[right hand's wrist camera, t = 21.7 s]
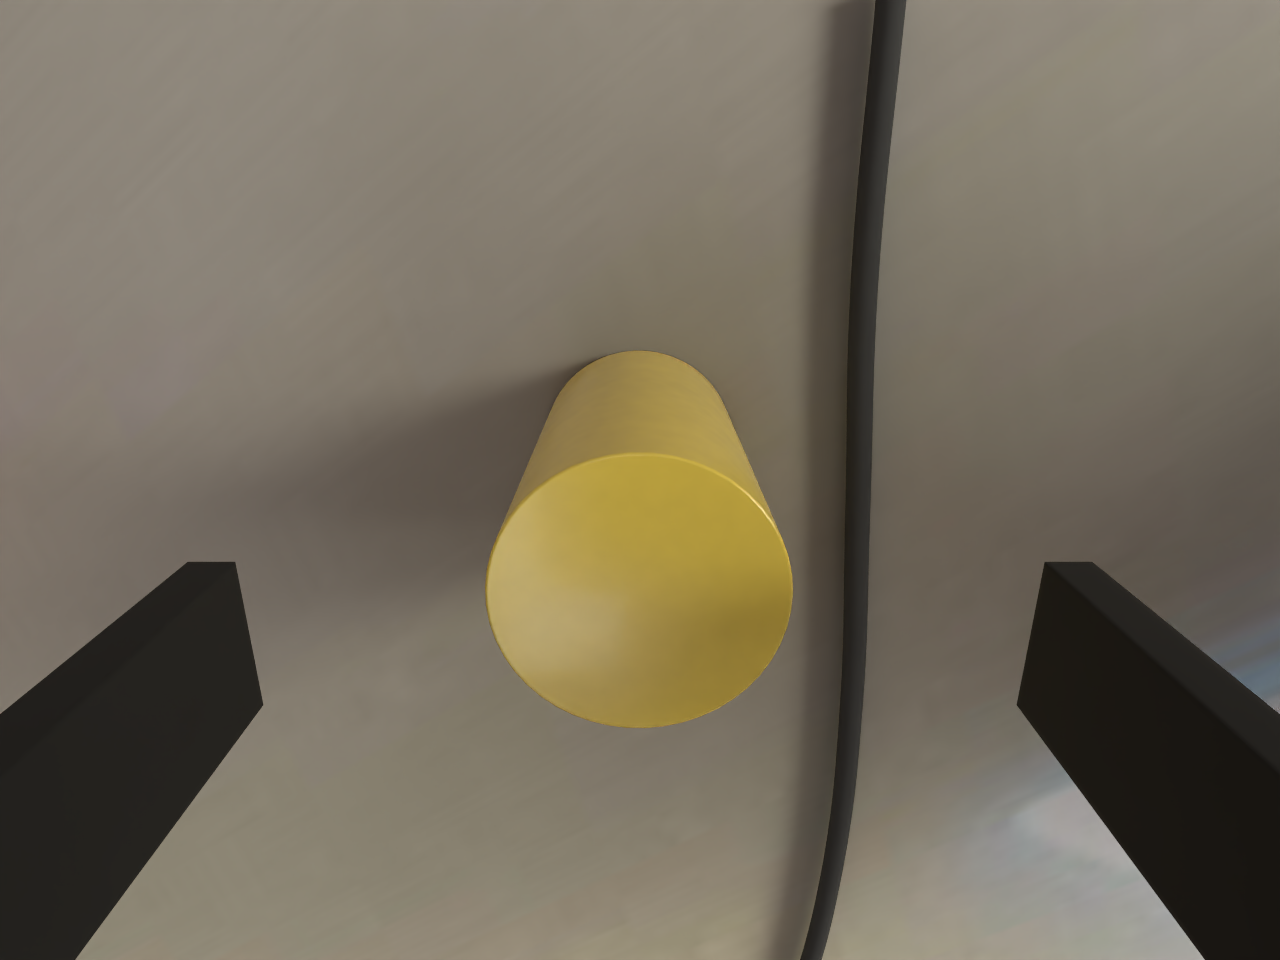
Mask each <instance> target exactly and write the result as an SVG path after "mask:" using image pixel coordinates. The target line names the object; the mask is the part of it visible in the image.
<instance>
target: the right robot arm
mask: <svg viewBox="0 0 1280 960" xmlns="http://www.w3.org/2000/svg"><path fill="white" fill-rule="evenodd" d="M905 7H906V0H876V2H875V13H874V24H873V34H872V45H871V55H870V65H869V75H868V85H867V95H866V105H865V115H864V125H863V135H862V145H861V156H860V166H859V177H858V188H857V200H856V212H855V225H854V239H853V254H852V270H851V288H850V309H849V334H848V368H847V441H846V504H845V552H844V625H843V660H842V681H841V698H840V713H839V728H838V742H837V755H836V767H835V779H834V789H833V798H832V806H831V814H830V822H829V829H828V835H827V842H826V848H825V854H824V859H823V865H822V870H821V876H820V881H819V886H818V891H817V896H816V900H815V905H814V910H813V914H812V918H811V922H810V926H809V930H808V934H807V938H806V941H805V945H804V949H803V952H802V955H801V959H800V960H822V956H823V953H824V949H825V946H826V942H827V938H828V934H829V930H830V926H831V922H832V918H833V914H834V909H835V905H836V900H837V895H838V890H839V886H840V881H841V875H842V870H843V865H844V860H845V854H846V848H847V843H848V837H849V830H850V824H851V817H852V810H853V802H854V794H855V786H856V776H857V766H858V755H859V744H860V732H861V719H862V707H863V694H864V679H865V662H866V640H867V608H868V565H869V529H870V500H871V467H872V423H873V381H874V352H875V329H876V310H877V293H878V277H879V263H880V249H881V237H882V225H883V214H884V203H885V192H886V182H887V172H888V163H889V153H890V144H891V135H892V126H893V117H894V108H895V99H896V90H897V81H898V72H899V63H900V54H901V45H902V36H903V26H904V17H905ZM262 706H263V701H262V696H261V691H260V686H259V681H258V676H257V671H256V666H255V660H254V655H253V650H252V645H251V640H250V635H249V630H248V625H247V620H246V615H245V610H244V604H243V599H242V594H241V589H240V584H239V579H238V574H237V569H236V564H235V562H187V563H186V564H185V565H184V566H182V567H181V568H180V569H179V570H177V571H176V572H175V573H174V574H172V575H171V576H170V577H169V578H168V579H166V580H165V581H164V582H163V583H161V584H160V585H159V586H158V587H156V588H155V589H154V590H153V591H152V592H150V593H149V594H148V595H147V596H145V597H144V598H143V599H142V600H140V601H139V602H138V603H137V604H136V605H134V606H133V607H132V608H131V609H129V610H128V611H127V612H126V613H124V614H123V615H122V616H121V617H119V618H118V619H117V620H116V621H115V622H113V623H112V624H111V625H110V626H108V627H107V628H106V629H105V630H103V631H102V632H101V633H100V634H99V635H97V636H96V637H95V638H94V639H92V640H91V641H90V642H89V643H87V644H86V645H85V646H84V647H82V648H81V649H80V650H79V651H78V652H76V653H75V654H74V655H73V656H71V657H70V658H69V659H68V660H66V661H65V662H64V663H63V664H62V665H60V666H59V667H58V668H57V669H55V670H54V671H53V672H52V673H50V674H49V675H48V676H47V677H46V678H44V679H43V680H42V681H41V682H39V683H38V684H37V685H36V686H34V687H33V688H32V689H31V690H29V691H28V692H27V693H26V694H25V695H23V696H22V697H21V698H20V699H18V700H17V701H16V702H15V703H13V704H12V705H11V706H10V707H9V708H7V709H6V710H5V711H4V712H2V713H1V714H0V960H75V959H76V958H77V956H78V955H79V954H80V952H81V951H82V950H83V948H84V947H85V946H86V944H87V943H88V941H89V940H90V939H91V937H92V936H93V935H94V933H95V932H96V931H97V929H98V928H99V927H100V925H101V924H102V923H103V921H104V920H105V918H106V917H107V916H108V914H109V913H110V912H111V910H112V909H113V908H114V906H115V905H116V904H117V902H118V901H119V900H120V898H121V897H122V895H123V894H124V893H125V891H126V890H127V889H128V887H129V886H130V885H131V883H132V882H133V881H134V879H135V878H136V877H137V875H138V874H139V872H140V871H141V870H142V868H143V867H144V866H145V864H146V863H147V862H148V860H149V859H150V858H151V856H152V855H153V853H154V852H155V851H156V849H157V848H158V847H159V845H160V844H161V843H162V841H163V840H164V839H165V837H166V836H167V835H168V833H169V832H170V830H171V829H172V828H173V826H174V825H175V824H176V822H177V821H178V820H179V818H180V817H181V816H182V814H183V813H184V812H185V810H186V809H187V807H188V806H189V805H190V803H191V802H192V801H193V799H194V798H195V797H196V795H197V794H198V793H199V791H200V790H201V789H202V787H203V786H204V784H205V783H206V782H207V780H208V779H209V778H210V776H211V775H212V774H213V772H214V771H215V770H216V768H217V767H218V766H219V764H220V763H221V761H222V760H223V759H224V757H225V756H226V755H227V753H228V752H229V751H230V749H231V748H232V747H233V745H234V744H235V743H236V741H237V740H238V738H239V737H240V736H241V734H242V733H243V732H244V730H245V729H246V728H247V726H248V725H249V724H250V722H251V721H252V720H253V718H254V717H255V715H256V714H257V713H258V711H259V710H260V709H261V707H262ZM1017 706H1018V707H1019V709H1020V710H1021V711H1022V713H1023V714H1024V715H1025V717H1026V718H1027V720H1028V721H1029V722H1030V724H1031V725H1032V726H1033V728H1034V729H1035V730H1036V732H1037V733H1038V734H1039V736H1040V737H1041V738H1042V740H1043V741H1044V743H1045V744H1046V745H1047V747H1048V748H1049V749H1050V751H1051V752H1052V753H1053V755H1054V756H1055V757H1056V759H1057V760H1058V761H1059V763H1060V764H1061V766H1062V767H1063V768H1064V770H1065V771H1066V772H1067V774H1068V775H1069V776H1070V778H1071V779H1072V780H1073V782H1074V783H1075V784H1076V786H1077V787H1078V789H1079V790H1080V791H1081V793H1082V794H1083V795H1084V797H1085V798H1086V799H1087V801H1088V802H1089V803H1090V805H1091V806H1092V807H1093V809H1094V810H1095V812H1096V813H1097V814H1098V816H1099V817H1100V818H1101V820H1102V821H1103V822H1104V824H1105V825H1106V826H1107V828H1108V829H1109V830H1110V832H1111V833H1112V835H1113V836H1114V837H1115V839H1116V840H1117V841H1118V843H1119V844H1120V845H1121V847H1122V848H1123V849H1124V851H1125V852H1126V854H1127V855H1128V856H1129V858H1130V859H1131V860H1132V862H1133V863H1134V864H1135V866H1136V867H1137V868H1138V870H1139V871H1140V872H1141V874H1142V875H1143V877H1144V878H1145V879H1146V881H1147V882H1148V883H1149V885H1150V886H1151V887H1152V889H1153V890H1154V891H1155V893H1156V894H1157V895H1158V897H1159V898H1160V900H1161V901H1162V902H1163V904H1164V905H1165V906H1166V908H1167V909H1168V910H1169V912H1170V913H1171V914H1172V916H1173V917H1174V918H1175V920H1176V921H1177V923H1178V924H1179V925H1180V927H1181V928H1182V929H1183V931H1184V932H1185V933H1186V935H1187V936H1188V937H1189V939H1190V940H1191V941H1192V943H1193V944H1194V946H1195V947H1196V948H1197V950H1198V951H1199V952H1200V954H1201V955H1202V956H1203V958H1204V959H1205V960H1280V714H1279V713H1278V712H1276V711H1275V710H1274V709H1273V708H1271V707H1270V706H1269V705H1268V704H1267V703H1265V702H1264V701H1263V700H1262V699H1260V698H1259V697H1258V696H1257V695H1255V694H1254V693H1253V692H1252V691H1251V690H1249V689H1248V688H1247V687H1246V686H1244V685H1243V684H1242V683H1241V682H1239V681H1238V680H1237V679H1236V678H1234V677H1233V676H1232V675H1231V674H1230V673H1228V672H1227V671H1226V670H1225V669H1223V668H1222V667H1221V666H1220V665H1218V664H1217V663H1216V662H1215V661H1214V660H1212V659H1211V658H1210V657H1209V656H1207V655H1206V654H1205V653H1204V652H1202V651H1201V650H1200V649H1199V648H1198V647H1196V646H1195V645H1194V644H1193V643H1191V642H1190V641H1189V640H1188V639H1186V638H1185V637H1184V636H1183V635H1181V634H1180V633H1179V632H1178V631H1177V630H1175V629H1174V628H1173V627H1172V626H1170V625H1169V624H1168V623H1167V622H1165V621H1164V620H1163V619H1162V618H1161V617H1159V616H1158V615H1157V614H1156V613H1154V612H1153V611H1152V610H1151V609H1149V608H1148V607H1147V606H1146V605H1144V604H1143V603H1142V602H1141V601H1140V600H1138V599H1137V598H1136V597H1135V596H1133V595H1132V594H1131V593H1130V592H1128V591H1127V590H1126V589H1125V588H1124V587H1122V586H1121V585H1120V584H1119V583H1117V582H1116V581H1115V580H1114V579H1112V578H1111V577H1110V576H1109V575H1108V574H1106V573H1105V572H1104V571H1103V570H1101V569H1100V568H1099V567H1098V566H1096V565H1095V564H1094V563H1093V562H1045V564H1044V569H1043V574H1042V579H1041V584H1040V589H1039V594H1038V599H1037V604H1036V610H1035V615H1034V620H1033V625H1032V630H1031V635H1030V640H1029V645H1028V650H1027V655H1026V660H1025V666H1024V671H1023V676H1022V681H1021V686H1020V691H1019V696H1018V701H1017Z"/></svg>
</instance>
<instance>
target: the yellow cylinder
mask: <svg viewBox="0 0 1280 960" xmlns="http://www.w3.org/2000/svg"><path fill="white" fill-rule="evenodd" d="M485 597H486V608H487V613H488V618H489V623H490V626H491V629H492V631H493V634H494V637H495V640H496V642H497V644H498V646H499V648H500V650H501V651H502V653H503V655H504V657H505V658H506V660H507V661H508V663H509V664H510V666H511V667H512V668H513V670H514V671H515V672H516V673H517V674H518V676H519V677H520V678H521V679H522V680H523V681H524V682H525V683H526V684H527V685H528V686H529V687H530V688H531V689H533V690H534V691H535V692H536V693H537V694H538V695H540V696H541V697H542V698H544V699H546V700H547V701H549V702H550V703H552V704H553V705H555V706H556V707H558V708H560V709H562V710H564V711H566V712H568V713H570V714H572V715H575V716H578V717H580V718H583V719H586V720H589V721H592V722H596V723H600V724H605V725H609V726H617V727H625V728H651V727H661V726H668V725H673V724H677V723H682V722H685V721H689V720H692V719H695V718H698V717H701V716H703V715H705V714H707V713H709V712H712V711H714V710H716V709H718V708H720V707H721V706H723V705H724V704H726V703H728V702H729V701H731V700H733V699H734V698H735V697H737V696H738V695H739V694H740V693H742V692H743V691H744V690H745V689H747V688H748V687H749V686H750V685H751V684H752V683H753V682H754V681H755V680H756V679H757V678H758V677H759V676H760V675H761V673H762V672H763V671H764V669H765V668H766V667H767V665H768V664H769V663H770V661H771V660H772V658H773V656H774V655H775V653H776V651H777V649H778V648H779V646H780V644H781V642H782V639H783V637H784V634H785V632H786V629H787V626H788V622H789V618H790V614H791V609H792V598H793V581H792V571H791V566H790V561H789V556H788V553H787V551H786V548H785V545H784V542H783V539H782V537H781V535H780V532H779V530H778V528H777V525H776V523H775V521H774V519H773V516H772V514H771V512H770V509H769V507H768V505H767V502H766V500H765V498H764V496H763V493H762V491H761V489H760V486H759V484H758V482H757V479H756V477H755V475H754V472H753V470H752V468H751V466H750V463H749V461H748V459H747V456H746V454H745V452H744V449H743V447H742V445H741V443H740V440H739V438H738V436H737V433H736V431H735V429H734V426H733V424H732V422H731V420H730V417H729V415H728V413H727V410H726V408H725V406H724V404H723V402H722V400H721V398H720V396H719V394H718V393H717V391H716V390H715V389H714V387H713V386H712V384H711V383H710V382H709V381H708V380H707V379H706V378H705V377H704V376H703V375H702V374H701V373H699V372H698V371H697V370H696V369H694V368H693V367H691V366H690V365H688V364H687V363H685V362H683V361H681V360H679V359H677V358H674V357H672V356H669V355H665V354H662V353H658V352H651V351H626V352H619V353H615V354H611V355H608V356H605V357H603V358H600V359H598V360H596V361H594V362H592V363H591V364H589V365H587V366H586V367H584V368H583V369H581V370H580V371H579V372H577V373H576V374H575V375H574V376H573V377H572V378H571V379H570V380H569V381H568V382H567V383H566V385H565V386H564V387H563V389H562V390H561V391H560V393H559V395H558V396H557V398H556V400H555V402H554V404H553V406H552V409H551V411H550V413H549V416H548V418H547V420H546V423H545V425H544V427H543V430H542V432H541V434H540V437H539V439H538V441H537V444H536V446H535V449H534V451H533V453H532V456H531V458H530V460H529V463H528V465H527V467H526V470H525V472H524V474H523V477H522V479H521V481H520V484H519V486H518V488H517V491H516V493H515V496H514V498H513V500H512V503H511V505H510V507H509V510H508V512H507V514H506V517H505V519H504V521H503V524H502V526H501V528H500V531H499V533H498V536H497V538H496V540H495V543H494V545H493V548H492V550H491V554H490V558H489V562H488V566H487V571H486V582H485Z"/></svg>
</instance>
